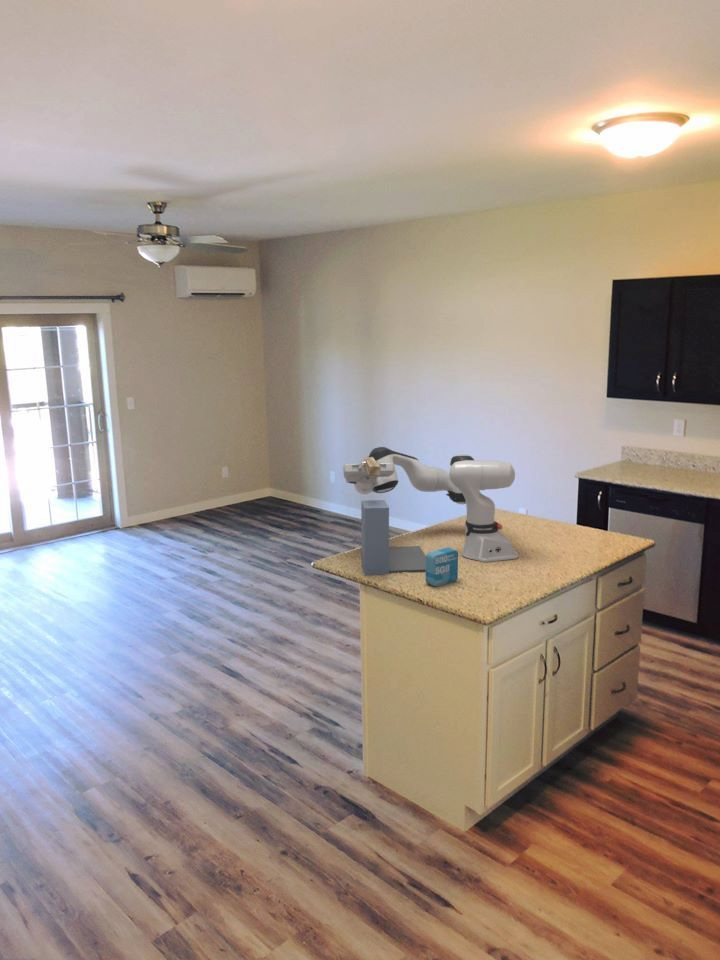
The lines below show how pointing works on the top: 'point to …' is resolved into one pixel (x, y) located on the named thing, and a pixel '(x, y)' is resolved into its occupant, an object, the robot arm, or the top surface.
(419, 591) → the top surface
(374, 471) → the maple rod
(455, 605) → the top surface
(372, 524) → the slate block
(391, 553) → the rubber mat
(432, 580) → the data package
